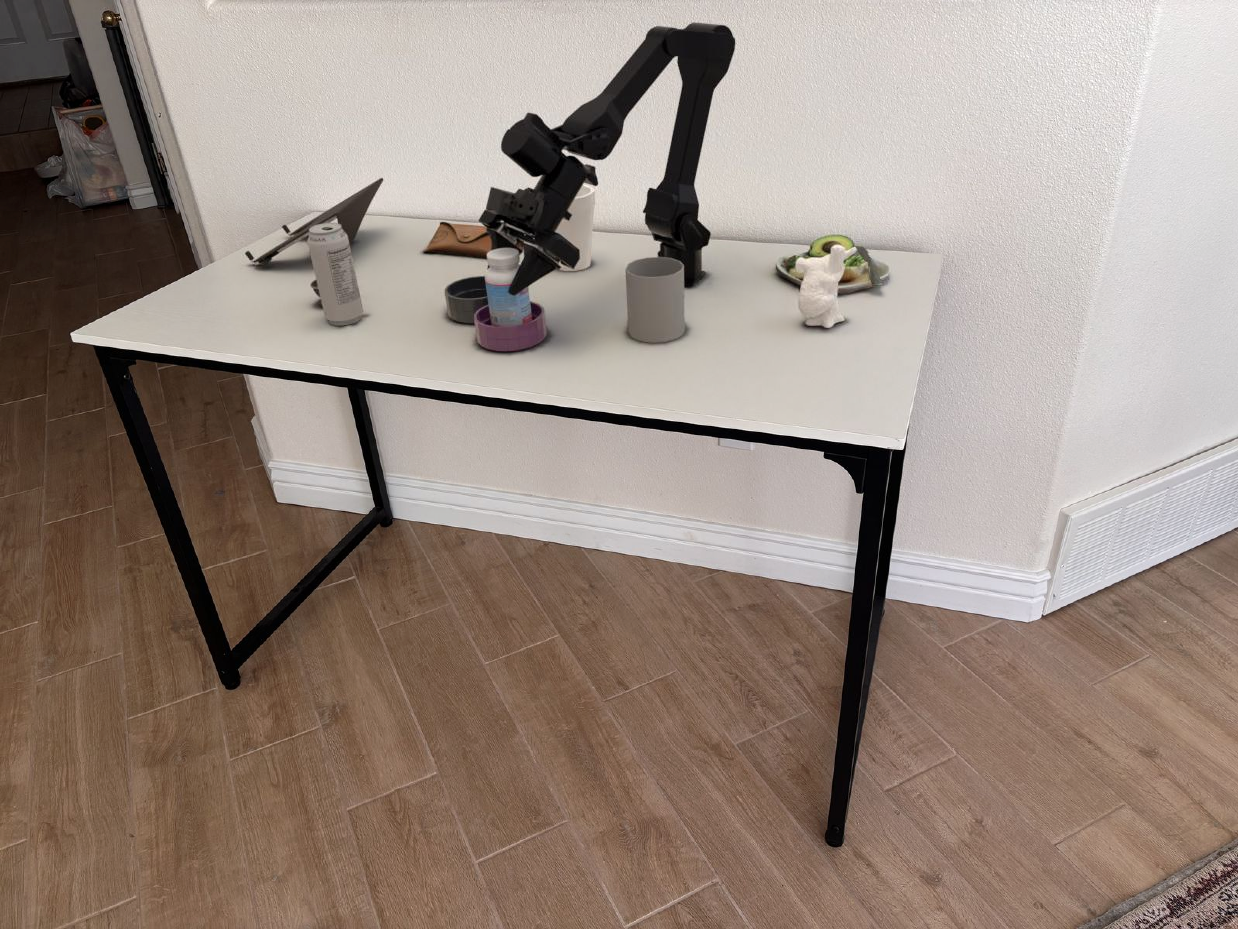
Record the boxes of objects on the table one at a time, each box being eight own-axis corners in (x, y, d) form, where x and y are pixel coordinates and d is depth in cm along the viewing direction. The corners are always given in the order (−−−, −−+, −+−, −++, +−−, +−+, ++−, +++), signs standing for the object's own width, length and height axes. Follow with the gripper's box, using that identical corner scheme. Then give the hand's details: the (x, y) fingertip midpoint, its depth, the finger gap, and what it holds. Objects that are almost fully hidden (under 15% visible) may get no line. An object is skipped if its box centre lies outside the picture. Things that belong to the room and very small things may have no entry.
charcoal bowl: (522, 304, 150) (519, 280, 148) (488, 328, 143) (485, 302, 140) (471, 296, 154) (468, 272, 152) (435, 319, 147) (431, 294, 144)
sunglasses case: (419, 251, 174) (424, 215, 173) (438, 258, 180) (443, 224, 180) (505, 258, 168) (510, 221, 167) (521, 266, 174) (526, 230, 174)
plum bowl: (559, 329, 141) (556, 304, 139) (523, 357, 133) (520, 331, 131) (501, 320, 145) (498, 296, 143) (463, 346, 137) (460, 321, 135)
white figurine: (850, 315, 140) (857, 238, 134) (850, 333, 134) (857, 253, 128) (794, 313, 142) (798, 236, 135) (791, 331, 136) (795, 252, 130)
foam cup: (609, 265, 164) (604, 191, 157) (564, 278, 159) (558, 203, 152) (580, 252, 170) (575, 180, 163) (537, 264, 166) (529, 191, 159)
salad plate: (921, 286, 148) (925, 258, 146) (826, 307, 143) (828, 279, 140) (850, 251, 164) (852, 225, 161) (762, 269, 158) (763, 243, 156)
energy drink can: (347, 309, 152) (327, 219, 144) (372, 316, 149) (353, 224, 141) (318, 322, 148) (296, 230, 140) (343, 329, 145) (322, 236, 137)
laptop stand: (317, 259, 192) (289, 220, 189) (403, 209, 184) (376, 167, 180) (267, 301, 173) (235, 259, 169) (360, 248, 165) (328, 202, 161)
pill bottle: (534, 331, 136) (525, 257, 130) (492, 336, 135) (482, 262, 129) (530, 315, 141) (522, 243, 135) (490, 319, 140) (480, 248, 134)
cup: (645, 347, 134) (642, 281, 129) (618, 328, 140) (615, 264, 135) (695, 333, 137) (694, 269, 132) (667, 315, 143) (665, 253, 138)
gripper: (480, 152, 134) (426, 245, 135) (554, 175, 122) (494, 277, 122) (531, 194, 142) (480, 281, 143) (605, 219, 130) (549, 315, 130)
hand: (498, 288), depth 134 cm, fingers closed on pill bottle, 6 cm apart
